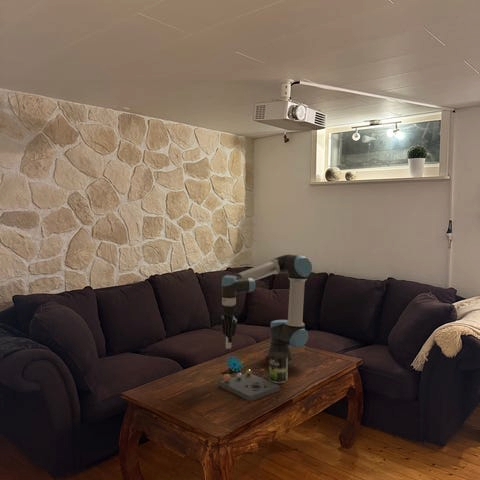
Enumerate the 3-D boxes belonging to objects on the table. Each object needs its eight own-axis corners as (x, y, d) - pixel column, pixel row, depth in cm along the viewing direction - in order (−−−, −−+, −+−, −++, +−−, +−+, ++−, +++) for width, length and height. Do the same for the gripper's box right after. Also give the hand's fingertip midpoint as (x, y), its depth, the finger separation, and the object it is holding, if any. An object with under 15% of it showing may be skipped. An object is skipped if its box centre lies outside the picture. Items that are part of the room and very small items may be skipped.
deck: (219, 386, 232) (219, 381, 232) (248, 377, 245) (248, 372, 245) (250, 401, 214) (250, 396, 214) (279, 390, 227) (279, 385, 227)
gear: (230, 371, 249) (225, 355, 255) (225, 376, 252) (220, 360, 258) (246, 370, 255) (241, 354, 261) (241, 375, 258) (236, 359, 264)
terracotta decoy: (227, 380, 234) (227, 372, 234) (232, 382, 231) (232, 374, 231) (221, 381, 232) (221, 374, 231) (226, 384, 228) (226, 376, 228)
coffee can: (280, 384, 234) (280, 358, 233) (264, 379, 241) (265, 354, 240) (291, 379, 242) (292, 354, 241) (276, 374, 249) (277, 349, 248)
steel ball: (239, 377, 238) (239, 371, 237) (243, 379, 235) (243, 373, 235) (235, 379, 236) (235, 373, 235) (239, 380, 233) (239, 374, 233)
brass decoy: (249, 373, 243) (249, 368, 243) (253, 375, 241) (253, 369, 241) (244, 375, 241) (244, 369, 241) (248, 376, 239) (248, 370, 238)
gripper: (215, 303, 242) (215, 346, 244) (231, 307, 232) (230, 352, 234) (226, 302, 247) (226, 343, 249) (242, 305, 237) (241, 349, 239)
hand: (228, 347), depth 241 cm, fingers closed
